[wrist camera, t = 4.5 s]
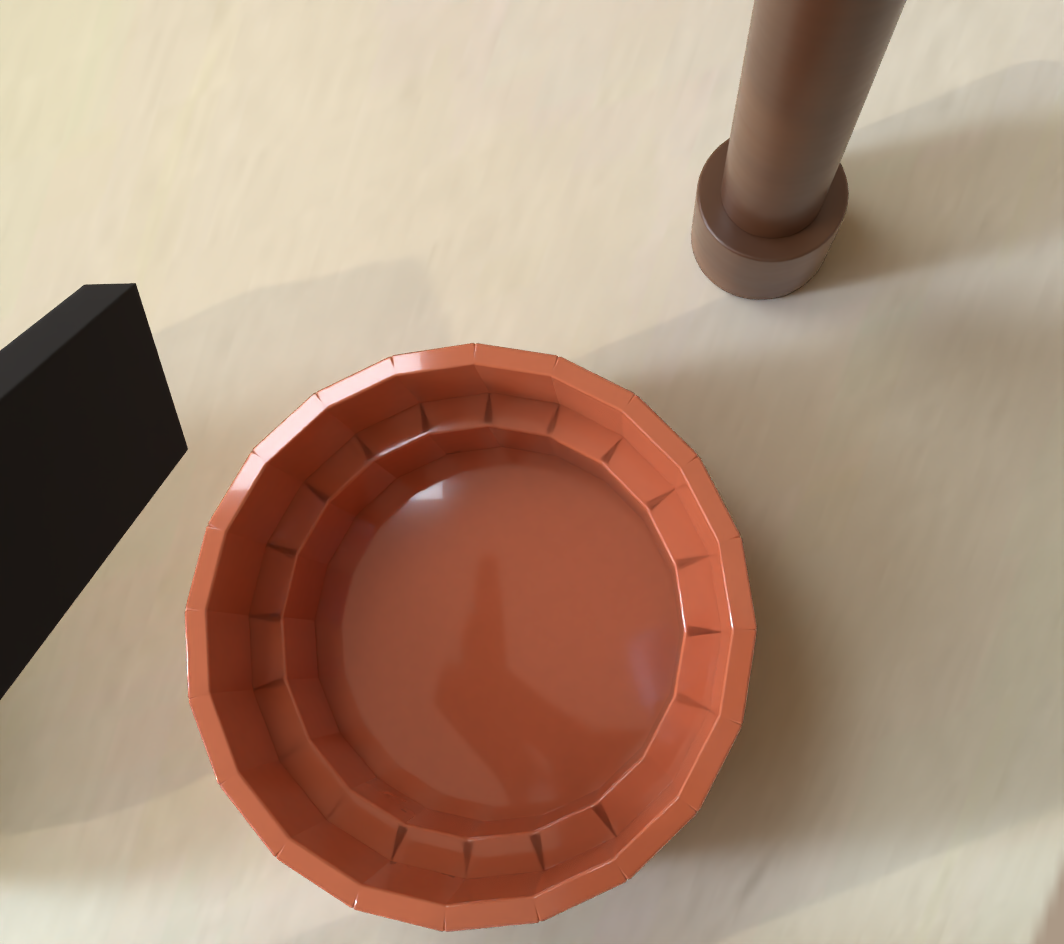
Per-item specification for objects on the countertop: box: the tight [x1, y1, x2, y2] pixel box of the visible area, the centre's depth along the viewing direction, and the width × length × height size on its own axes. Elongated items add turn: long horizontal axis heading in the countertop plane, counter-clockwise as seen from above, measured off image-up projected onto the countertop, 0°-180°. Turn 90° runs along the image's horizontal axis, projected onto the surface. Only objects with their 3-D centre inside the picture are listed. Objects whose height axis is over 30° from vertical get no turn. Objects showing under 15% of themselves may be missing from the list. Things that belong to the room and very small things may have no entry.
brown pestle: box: [691, 0, 906, 299], centre depth 22 cm, size 4×4×16 cm
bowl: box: [185, 343, 757, 932], centre depth 26 cm, size 14×14×6 cm
